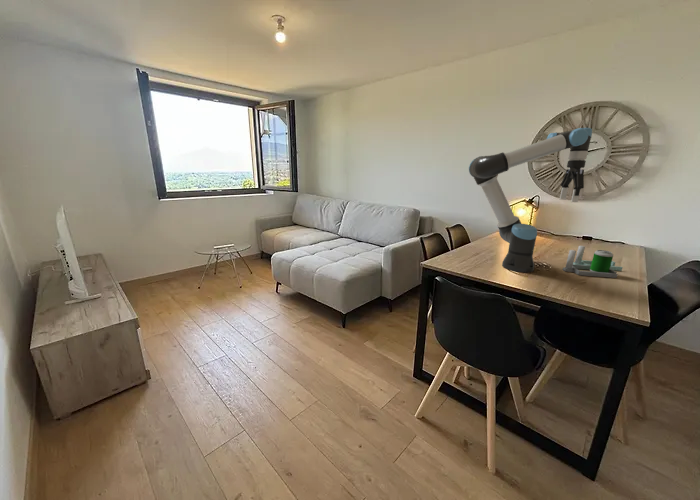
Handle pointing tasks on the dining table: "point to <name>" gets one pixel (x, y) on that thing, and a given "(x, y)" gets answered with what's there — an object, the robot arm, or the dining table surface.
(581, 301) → the dining table surface
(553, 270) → the dining table surface
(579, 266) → the frame
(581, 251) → the lane
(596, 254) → the soda can
